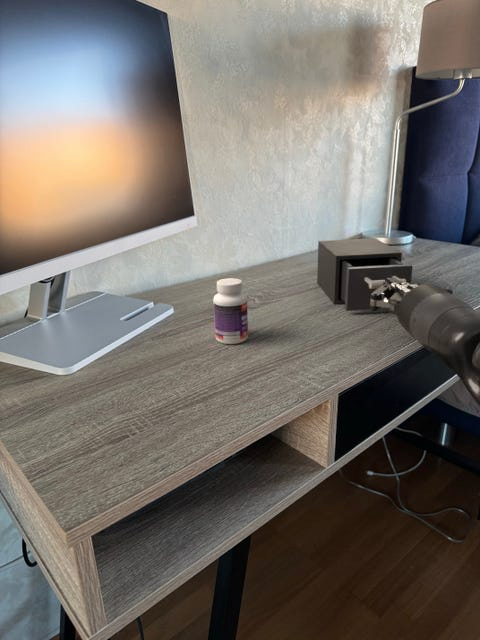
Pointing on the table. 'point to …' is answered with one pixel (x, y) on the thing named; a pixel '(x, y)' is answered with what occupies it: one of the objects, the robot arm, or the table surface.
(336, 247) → the small drawer unit
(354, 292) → the dark drawer box
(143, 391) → the table surface
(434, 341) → the robot arm
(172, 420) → the table surface
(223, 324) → the pill bottle
